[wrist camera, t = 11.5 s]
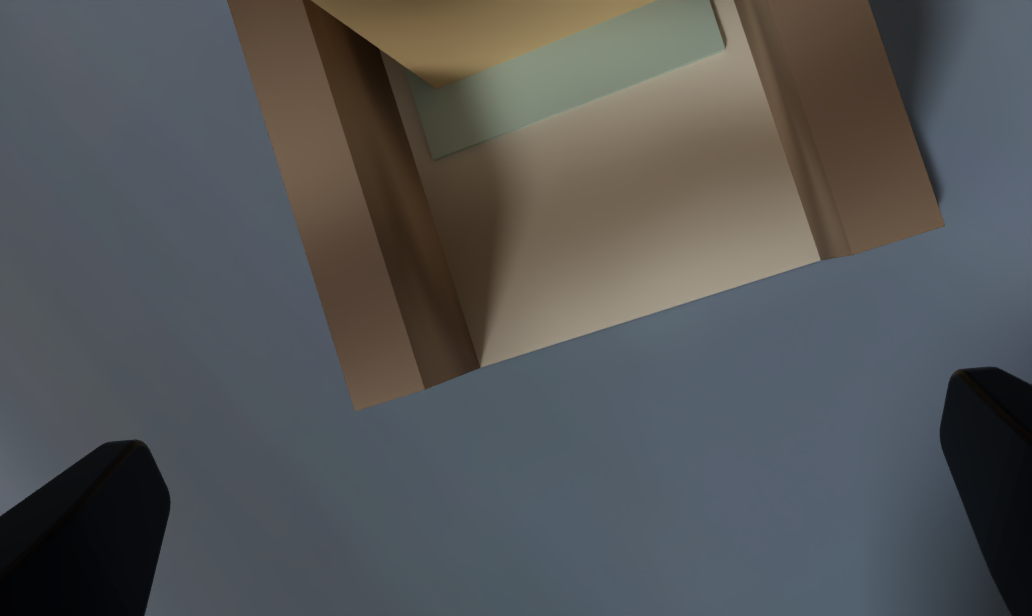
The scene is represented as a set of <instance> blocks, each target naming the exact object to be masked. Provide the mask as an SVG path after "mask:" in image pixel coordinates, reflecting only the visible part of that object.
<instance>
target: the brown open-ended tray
mask: <svg viewBox="0 0 1032 616" xmlns="http://www.w3.org/2000/svg"><path fill="white" fill-rule="evenodd" d="M227 2H228V5H229V8H230V11H231V14H232V18H233V21H234V24H235V27H236V30H237V34H238V37H239V40H240V43H241V47H242V50H243V53H244V56H245V59H246V63H247V66H248V69H249V72H250V75H251V79H252V82H253V85H254V88H255V92H256V95H257V98H258V101H259V104H260V108H261V111H262V114H263V117H264V120H265V124H266V127H267V130H268V133H269V137H270V140H271V143H272V146H273V149H274V153H275V156H276V159H277V162H278V165H279V169H280V172H281V175H282V178H283V181H284V185H285V188H286V191H287V194H288V198H289V201H290V204H291V207H292V210H293V214H294V217H295V220H296V223H297V226H298V230H299V233H300V236H301V239H302V243H303V246H304V249H305V252H306V255H307V259H308V262H309V265H310V268H311V271H312V275H313V278H314V281H315V284H316V287H317V291H318V294H319V297H320V300H321V304H322V307H323V310H324V313H325V316H326V320H327V323H328V326H329V329H330V332H331V336H332V339H333V342H334V345H335V349H336V352H337V355H338V358H339V361H340V365H341V368H342V371H343V374H344V377H345V381H346V384H347V387H348V390H349V394H350V397H351V400H352V403H353V406H354V410H355V411H358V410H361V409H364V408H367V407H371V406H374V405H377V404H380V403H383V402H387V401H390V400H393V399H396V398H399V397H403V396H406V395H409V394H412V393H415V392H418V391H422V390H425V389H427V388H430V387H432V386H435V385H438V384H440V383H443V382H445V381H448V380H450V379H453V378H455V377H458V376H460V375H463V374H466V373H468V372H471V371H473V370H476V369H478V368H481V367H484V366H487V365H490V364H494V363H497V362H500V361H503V360H506V359H509V358H513V357H516V356H519V355H522V354H525V353H529V352H532V351H535V350H538V349H541V348H544V347H548V346H551V345H554V344H557V343H560V342H563V341H567V340H570V339H573V338H576V337H579V336H582V335H586V334H589V333H592V332H595V331H598V330H601V329H605V328H608V327H611V326H614V325H617V324H620V323H624V322H627V321H630V320H633V319H636V318H639V317H643V316H646V315H649V314H652V313H655V312H658V311H662V310H665V309H668V308H671V307H674V306H678V305H681V304H684V303H687V302H690V301H693V300H697V299H700V298H703V297H706V296H709V295H712V294H716V293H719V292H722V291H725V290H728V289H731V288H735V287H738V286H741V285H744V284H747V283H750V282H754V281H757V280H760V279H763V278H766V277H769V276H773V275H776V274H779V273H782V272H785V271H788V270H792V269H795V268H798V267H801V266H804V265H807V264H811V263H814V262H817V261H820V260H826V259H832V258H838V257H844V256H850V255H854V254H858V253H861V252H864V251H867V250H870V249H874V248H877V247H880V246H883V245H886V244H889V243H893V242H896V241H899V240H902V239H905V238H909V237H912V236H915V235H918V234H921V233H924V232H928V231H931V230H934V229H937V228H940V227H944V226H945V224H944V221H943V218H942V215H941V212H940V209H939V206H938V203H937V201H936V198H935V195H934V192H933V189H932V186H931V183H930V180H929V177H928V174H927V171H926V168H925V165H924V162H923V159H922V157H921V154H920V151H919V148H918V145H917V142H916V139H915V136H914V133H913V130H912V127H911V124H910V121H909V118H908V116H907V113H906V110H905V107H904V104H903V101H902V98H901V95H900V92H899V89H898V86H897V83H896V80H895V77H894V75H893V72H892V69H891V66H890V63H889V60H888V57H887V54H886V51H885V48H884V45H883V42H882V39H881V36H880V34H879V31H878V28H877V25H876V22H875V19H874V16H873V13H872V10H871V7H870V4H869V1H868V0H656V1H654V2H651V3H649V4H646V5H644V6H641V7H639V8H636V9H634V10H631V11H629V12H626V13H624V14H622V15H619V16H617V17H614V18H612V19H609V20H607V21H604V22H602V23H599V24H597V25H594V26H592V27H589V28H587V29H585V30H582V31H580V32H577V33H575V34H572V35H570V36H567V37H565V38H562V39H560V40H557V41H555V42H552V43H550V44H547V45H545V46H543V47H540V48H538V49H535V50H533V51H530V52H528V53H525V54H523V55H520V56H518V57H515V58H513V59H510V60H508V61H506V62H503V63H501V64H498V65H496V66H493V67H491V68H488V69H486V70H483V71H481V72H478V73H476V74H473V75H471V76H468V77H466V78H464V79H461V80H459V81H456V82H454V83H451V84H449V85H446V86H444V87H441V88H439V89H436V88H434V87H433V86H431V85H430V84H429V83H427V82H426V81H424V80H423V79H422V78H420V77H419V76H417V75H416V74H414V73H413V72H412V71H410V70H409V69H407V68H406V67H405V66H403V65H402V64H400V63H399V62H397V61H396V60H395V59H393V58H392V57H390V56H389V55H388V54H386V53H385V52H383V51H382V50H380V49H379V48H378V47H376V46H375V45H373V44H372V43H371V42H369V41H368V40H366V39H365V38H364V37H362V36H361V35H359V34H358V33H356V32H355V31H354V30H352V29H351V28H349V27H348V26H347V25H345V24H344V23H342V22H341V21H339V20H338V19H337V18H335V17H334V16H332V15H331V14H330V13H328V12H327V11H325V10H324V9H322V8H321V7H320V6H318V5H317V4H315V3H314V2H313V1H311V0H227Z"/></svg>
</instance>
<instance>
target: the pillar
mask: <svg viewBox="0 0 1032 616" xmlns="http://www.w3.org/2000/svg"><path fill="white" fill-rule="evenodd" d="M311 1H313V2H314V3H315V4H317V5H318V6H320V7H321V8H322V9H324V10H325V11H327V12H328V13H330V14H331V15H332V16H334V17H335V18H337V19H338V20H339V21H341V22H342V23H344V24H345V25H347V26H348V27H349V28H351V29H352V30H354V31H355V32H356V33H358V34H359V35H361V36H362V37H364V38H365V39H366V40H368V41H369V42H371V43H372V44H373V45H375V46H376V47H378V48H379V49H380V50H382V51H383V52H385V53H386V54H388V55H389V56H390V57H392V58H393V59H395V60H396V61H397V62H399V63H400V64H402V65H403V66H405V67H406V68H407V69H409V70H410V71H412V72H413V73H414V74H416V75H417V76H419V77H420V78H422V79H423V80H424V81H426V82H427V83H429V84H430V85H431V86H433V87H434V88H436V89H439V88H441V87H444V86H446V85H449V84H451V83H454V82H456V81H459V80H461V79H464V78H466V77H468V76H471V75H473V74H476V73H478V72H481V71H483V70H486V69H488V68H491V67H493V66H496V65H498V64H501V63H503V62H506V61H508V60H510V59H513V58H515V57H518V56H520V55H523V54H525V53H528V52H530V51H533V50H535V49H538V48H540V47H543V46H545V45H547V44H550V43H552V42H555V41H557V40H560V39H562V38H565V37H567V36H570V35H572V34H575V33H577V32H580V31H582V30H585V29H587V28H589V27H592V26H594V25H597V24H599V23H602V22H604V21H607V20H609V19H612V18H614V17H617V16H619V15H622V14H624V13H626V12H629V11H631V10H634V9H636V8H639V7H641V6H644V5H646V4H649V3H651V2H654V1H656V0H311Z"/></svg>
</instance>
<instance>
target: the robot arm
mask: <svg viewBox="0 0 1032 616" xmlns="http://www.w3.org/2000/svg"><path fill="white" fill-rule="evenodd" d="M940 442H941V447H942V450H943V453H944V456H945V458H946V461H947V464H948V466H949V469H950V471H951V474H952V477H953V479H954V482H955V484H956V487H957V490H958V492H959V495H960V497H961V500H962V503H963V505H964V508H965V510H966V513H967V516H968V518H969V521H970V523H971V526H972V529H973V531H974V534H975V537H976V539H977V542H978V544H979V547H980V550H981V552H982V555H983V557H984V559H985V562H986V564H987V567H988V569H989V571H990V574H991V576H992V578H993V580H994V582H995V584H996V586H997V588H998V590H999V592H1000V594H1001V596H1002V598H1003V600H1004V602H1005V604H1006V606H1007V608H1008V610H1009V612H1010V614H1011V616H1032V385H1031V384H1029V383H1027V382H1025V381H1023V380H1021V379H1019V378H1017V377H1015V376H1013V375H1012V374H1010V373H1008V372H1006V371H1004V370H1002V369H999V368H997V367H978V368H967V369H959V370H957V371H955V372H954V373H953V374H952V376H951V377H950V380H949V384H948V389H947V394H946V399H945V404H944V409H943V414H942V420H941V425H940ZM169 512H170V495H169V491H168V488H167V486H166V483H165V481H164V479H163V477H162V475H161V473H160V471H159V469H158V466H157V464H156V462H155V460H154V458H153V456H152V454H151V452H150V450H149V448H148V446H147V445H146V444H145V443H144V442H142V441H140V440H124V441H112V442H107V443H104V444H102V445H101V446H99V447H98V448H96V449H95V450H93V451H92V452H91V453H89V454H88V455H86V456H85V457H83V458H82V459H81V460H79V461H78V462H76V463H75V464H74V465H72V466H71V467H69V468H68V469H66V470H65V471H64V472H62V473H61V474H59V475H58V476H57V477H55V478H54V479H52V480H51V481H49V482H48V483H47V484H45V485H44V486H42V487H41V488H40V489H38V490H37V491H35V492H34V493H32V494H31V495H30V496H28V497H27V498H25V499H24V500H23V501H21V502H20V503H18V504H17V505H15V506H14V507H13V508H11V509H10V510H8V511H7V512H6V513H4V514H3V515H1V516H0V616H144V615H145V612H146V608H147V603H148V599H149V595H150V591H151V587H152V583H153V579H154V575H155V570H156V566H157V562H158V558H159V554H160V550H161V546H162V542H163V537H164V533H165V529H166V525H167V521H168V517H169Z"/></svg>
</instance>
